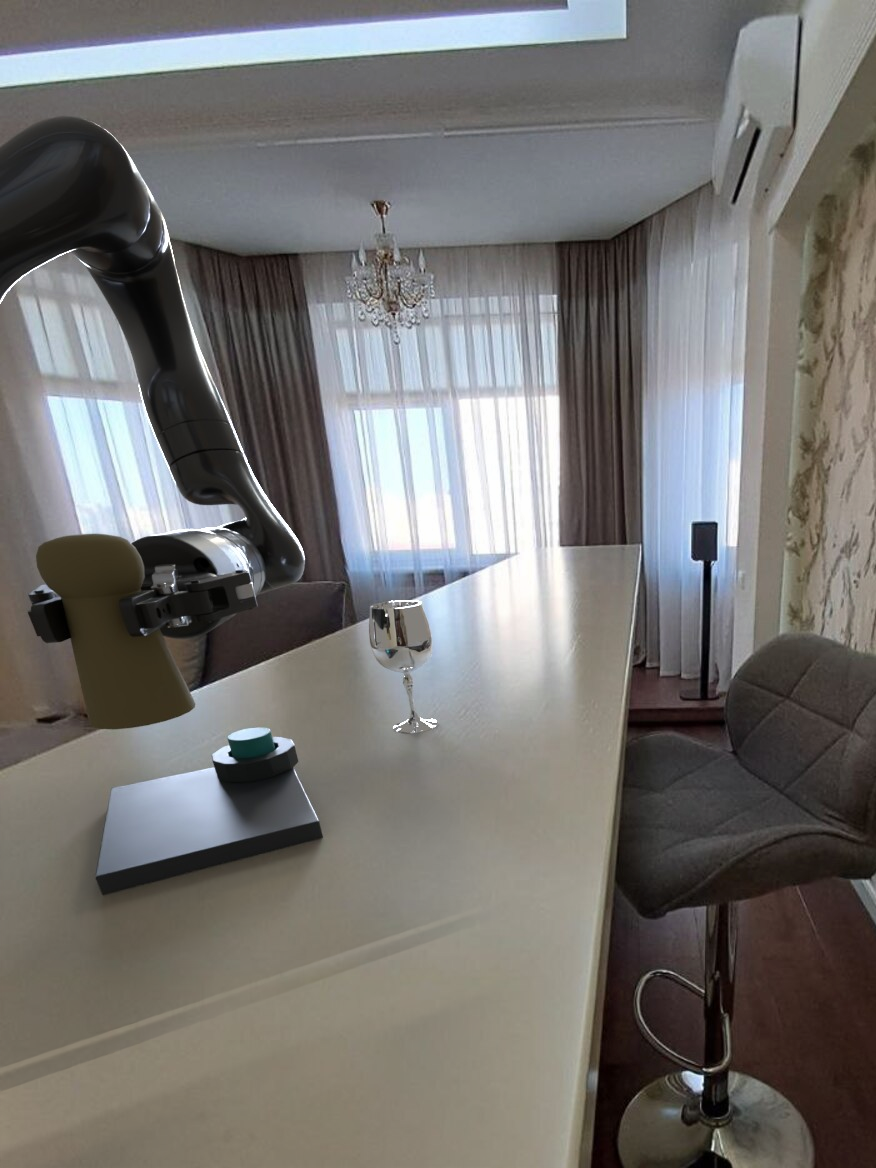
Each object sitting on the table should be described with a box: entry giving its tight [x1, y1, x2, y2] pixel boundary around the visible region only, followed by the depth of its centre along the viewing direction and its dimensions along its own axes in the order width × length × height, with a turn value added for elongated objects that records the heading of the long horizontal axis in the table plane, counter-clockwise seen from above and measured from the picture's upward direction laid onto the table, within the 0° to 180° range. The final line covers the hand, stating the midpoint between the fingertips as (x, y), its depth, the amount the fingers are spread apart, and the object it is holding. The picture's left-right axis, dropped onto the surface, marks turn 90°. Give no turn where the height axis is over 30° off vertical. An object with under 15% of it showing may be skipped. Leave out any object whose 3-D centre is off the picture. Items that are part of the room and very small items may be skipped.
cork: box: [35, 533, 196, 730], centre depth 42 cm, size 6×6×11 cm
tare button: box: [227, 726, 275, 759], centre depth 55 cm, size 3×3×2 cm
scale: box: [94, 736, 324, 896], centre depth 51 cm, size 16×14×3 cm
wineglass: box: [368, 600, 439, 734], centre depth 66 cm, size 6×6×12 cm
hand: (88, 621), depth 39 cm, fingers closed on cork, 4 cm apart
